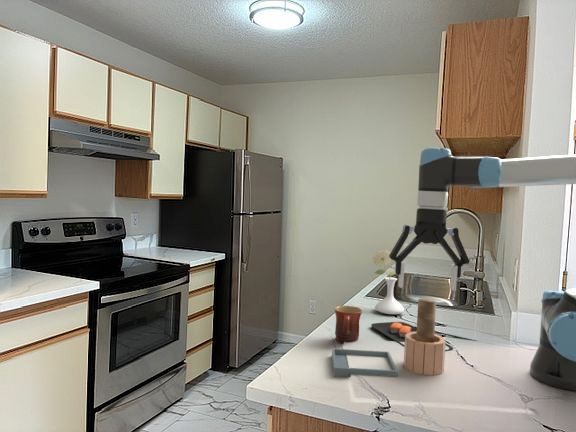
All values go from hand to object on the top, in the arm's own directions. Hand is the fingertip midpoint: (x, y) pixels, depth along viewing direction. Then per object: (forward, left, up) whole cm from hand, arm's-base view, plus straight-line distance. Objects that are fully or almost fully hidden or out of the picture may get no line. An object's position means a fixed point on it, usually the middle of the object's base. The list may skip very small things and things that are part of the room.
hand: (426, 288), depth 117 cm
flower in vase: (0, -58, -22) cm, 62 cm away
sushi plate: (-9, -29, -23) cm, 38 cm away
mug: (+19, -19, -22) cm, 35 cm away
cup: (0, 0, -22) cm, 22 cm away
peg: (0, 0, -21) cm, 21 cm away
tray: (+16, 0, -22) cm, 27 cm away
